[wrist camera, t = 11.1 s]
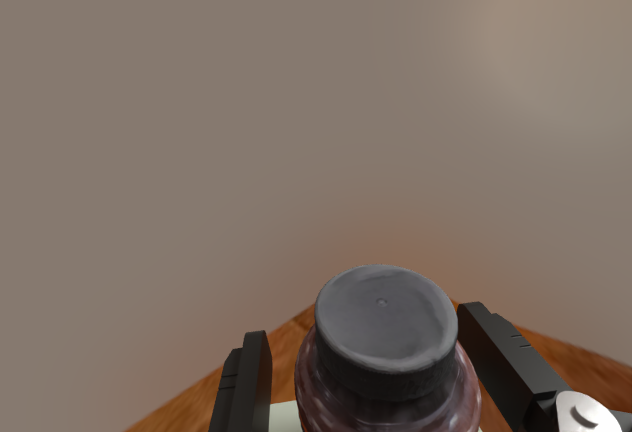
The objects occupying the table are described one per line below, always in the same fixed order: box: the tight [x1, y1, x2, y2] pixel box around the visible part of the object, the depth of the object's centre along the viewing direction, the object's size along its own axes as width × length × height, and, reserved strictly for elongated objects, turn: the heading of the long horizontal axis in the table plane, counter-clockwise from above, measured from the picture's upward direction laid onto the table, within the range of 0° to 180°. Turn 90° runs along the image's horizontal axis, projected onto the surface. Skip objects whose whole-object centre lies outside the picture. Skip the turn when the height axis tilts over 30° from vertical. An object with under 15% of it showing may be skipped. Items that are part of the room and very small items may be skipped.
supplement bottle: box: [294, 264, 481, 432], centre depth 10 cm, size 6×6×11 cm
